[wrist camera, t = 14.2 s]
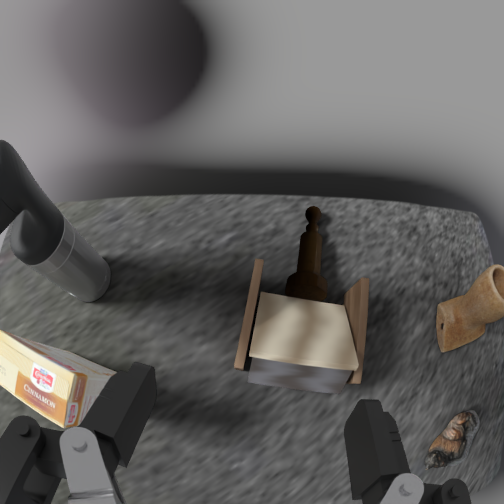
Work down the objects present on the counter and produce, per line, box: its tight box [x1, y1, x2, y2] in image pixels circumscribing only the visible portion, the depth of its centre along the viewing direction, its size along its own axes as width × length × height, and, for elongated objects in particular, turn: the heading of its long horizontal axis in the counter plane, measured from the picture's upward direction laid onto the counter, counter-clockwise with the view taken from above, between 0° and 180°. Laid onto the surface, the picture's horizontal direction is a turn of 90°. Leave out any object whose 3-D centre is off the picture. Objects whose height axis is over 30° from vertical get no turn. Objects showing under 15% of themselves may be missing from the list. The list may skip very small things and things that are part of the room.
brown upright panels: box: [234, 259, 369, 384], centre depth 42 cm, size 17×16×8 cm
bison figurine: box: [425, 410, 480, 470], centre depth 33 cm, size 12×7×10 cm
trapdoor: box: [248, 292, 359, 394], centre depth 41 cm, size 14×14×6 cm
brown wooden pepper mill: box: [285, 206, 327, 302], centre depth 49 cm, size 7×6×18 cm
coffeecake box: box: [0, 330, 117, 428], centre depth 31 cm, size 15×7×20 cm, turn 78°
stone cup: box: [436, 265, 504, 352], centre depth 40 cm, size 15×12×15 cm
